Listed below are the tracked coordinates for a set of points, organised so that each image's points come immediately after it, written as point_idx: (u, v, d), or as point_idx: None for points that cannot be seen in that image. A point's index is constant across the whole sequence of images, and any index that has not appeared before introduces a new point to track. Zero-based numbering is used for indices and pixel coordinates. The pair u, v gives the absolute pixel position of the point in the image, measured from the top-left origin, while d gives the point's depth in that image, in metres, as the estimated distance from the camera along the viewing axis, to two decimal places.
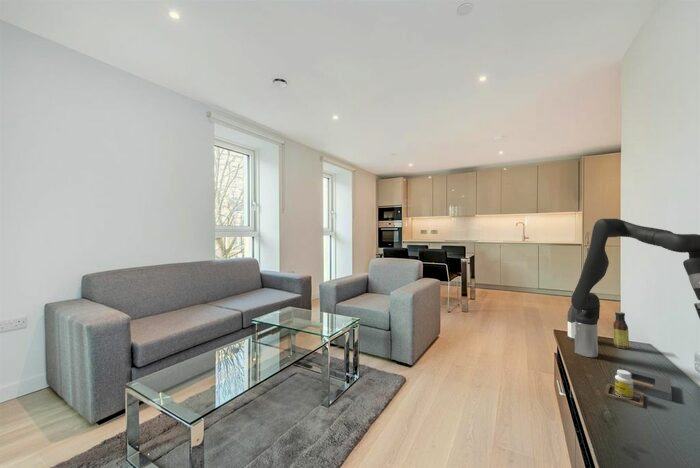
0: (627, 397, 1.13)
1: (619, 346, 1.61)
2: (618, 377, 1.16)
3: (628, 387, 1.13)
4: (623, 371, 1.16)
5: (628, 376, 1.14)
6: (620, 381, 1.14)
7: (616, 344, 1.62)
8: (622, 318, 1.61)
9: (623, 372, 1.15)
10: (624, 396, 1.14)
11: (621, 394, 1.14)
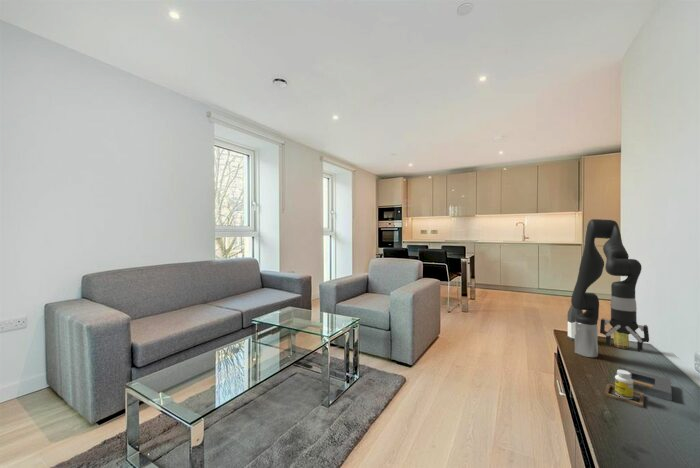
0: (627, 397, 1.13)
1: (619, 346, 1.61)
2: (618, 377, 1.16)
3: (628, 387, 1.13)
4: (623, 371, 1.16)
5: (628, 376, 1.14)
6: (620, 381, 1.14)
7: (616, 344, 1.62)
8: None
9: (623, 372, 1.15)
10: (624, 396, 1.14)
11: (621, 394, 1.14)
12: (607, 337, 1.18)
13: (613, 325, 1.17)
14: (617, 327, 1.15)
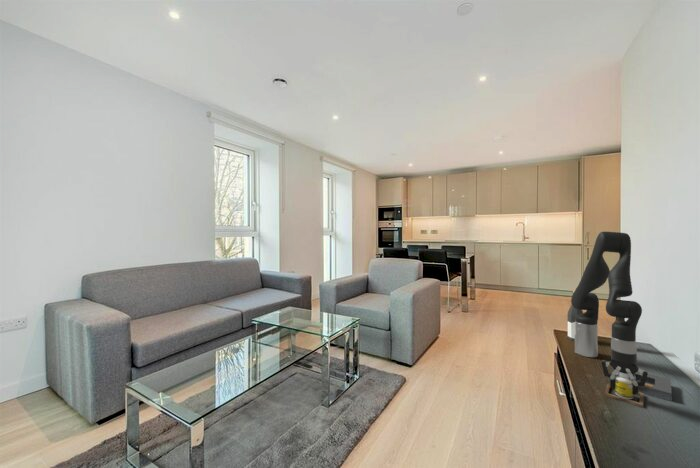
0: (627, 397, 1.13)
1: None
2: (618, 377, 1.16)
3: (628, 387, 1.13)
4: None
5: (628, 376, 1.14)
6: (620, 381, 1.14)
7: None
8: (622, 318, 1.61)
9: None
10: (624, 396, 1.14)
11: (621, 394, 1.14)
12: (611, 380, 1.18)
13: (614, 367, 1.17)
14: (618, 369, 1.15)
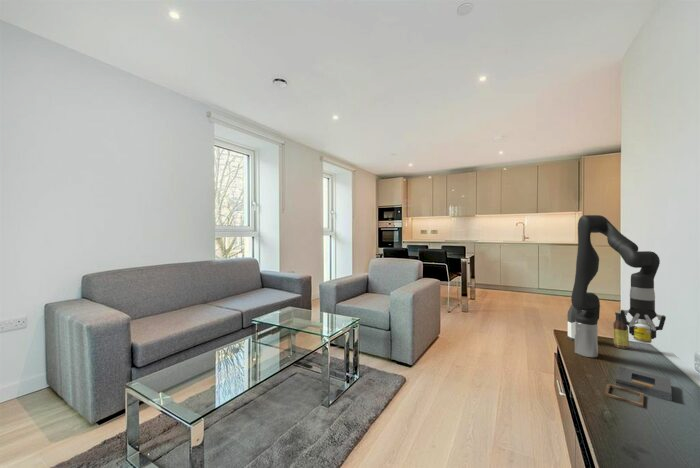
0: (646, 341, 1.20)
1: (619, 346, 1.61)
2: (637, 323, 1.23)
3: (647, 332, 1.20)
4: None
5: (647, 322, 1.21)
6: (639, 327, 1.22)
7: (616, 344, 1.62)
8: None
9: (641, 319, 1.22)
10: (643, 341, 1.21)
11: (640, 339, 1.21)
12: (630, 327, 1.25)
13: (632, 315, 1.24)
14: (637, 316, 1.22)
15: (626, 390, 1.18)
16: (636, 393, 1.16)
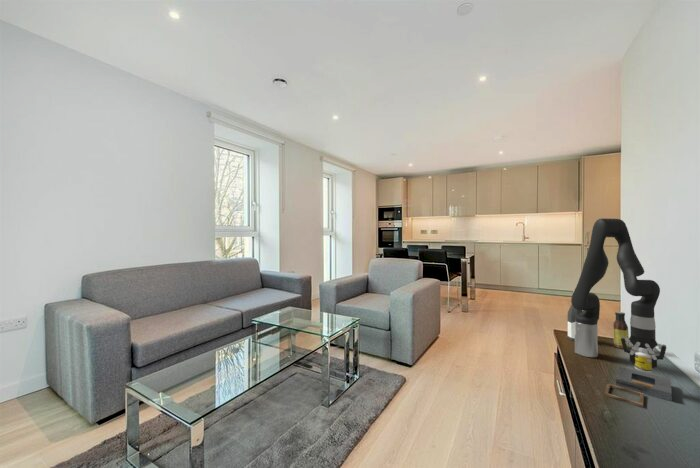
0: (646, 370, 1.20)
1: (619, 346, 1.61)
2: (637, 352, 1.23)
3: (648, 361, 1.20)
4: None
5: (647, 351, 1.21)
6: (639, 356, 1.22)
7: (616, 344, 1.62)
8: (622, 318, 1.61)
9: None
10: (644, 370, 1.21)
11: (641, 368, 1.21)
12: (631, 355, 1.25)
13: (633, 343, 1.24)
14: (637, 344, 1.22)
15: (626, 390, 1.18)
16: (636, 393, 1.16)
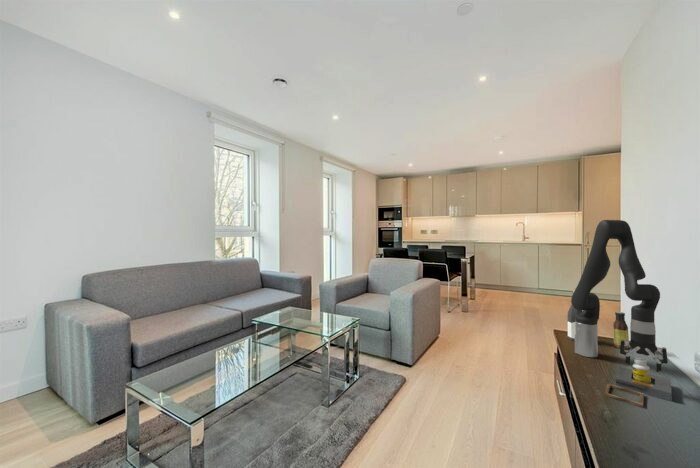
0: None
1: (619, 346, 1.61)
2: (635, 365, 1.23)
3: (646, 374, 1.21)
4: (639, 359, 1.24)
5: (645, 363, 1.21)
6: (638, 369, 1.22)
7: (616, 344, 1.62)
8: (622, 318, 1.61)
9: (639, 360, 1.23)
10: None
11: None
12: (627, 357, 1.26)
13: (633, 346, 1.24)
14: (637, 348, 1.23)
15: (626, 390, 1.18)
16: (636, 393, 1.16)
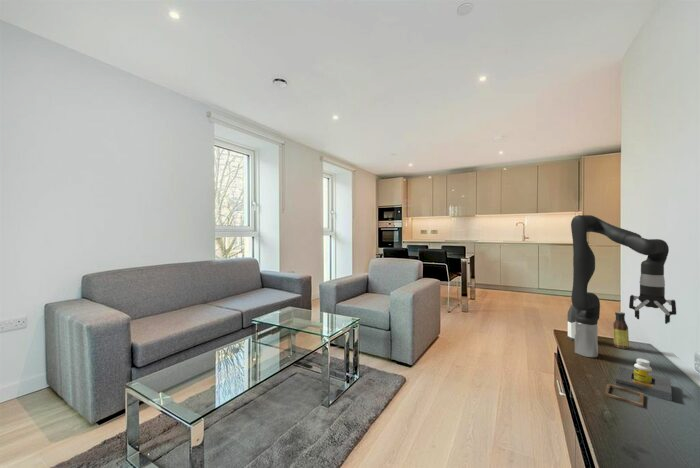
0: None
1: (619, 346, 1.61)
2: (638, 365, 1.23)
3: (648, 375, 1.20)
4: (642, 360, 1.23)
5: (648, 364, 1.21)
6: (640, 369, 1.22)
7: (616, 344, 1.62)
8: (622, 318, 1.61)
9: (642, 361, 1.22)
10: None
11: None
12: (636, 311, 1.29)
13: (642, 300, 1.27)
14: (646, 302, 1.26)
15: (626, 390, 1.18)
16: (636, 393, 1.16)
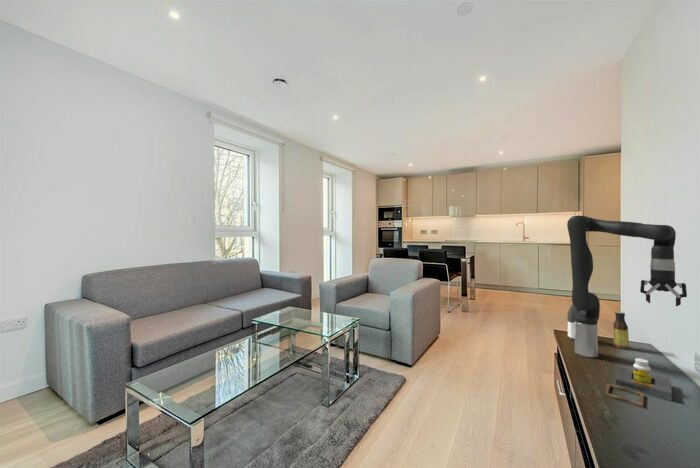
0: None
1: (619, 346, 1.61)
2: (637, 366, 1.23)
3: (648, 374, 1.20)
4: (641, 359, 1.23)
5: (647, 364, 1.21)
6: (640, 369, 1.22)
7: (616, 344, 1.62)
8: (622, 318, 1.61)
9: (641, 361, 1.22)
10: None
11: None
12: (647, 295, 1.33)
13: (653, 284, 1.31)
14: (657, 286, 1.30)
15: (626, 390, 1.18)
16: (636, 393, 1.16)
